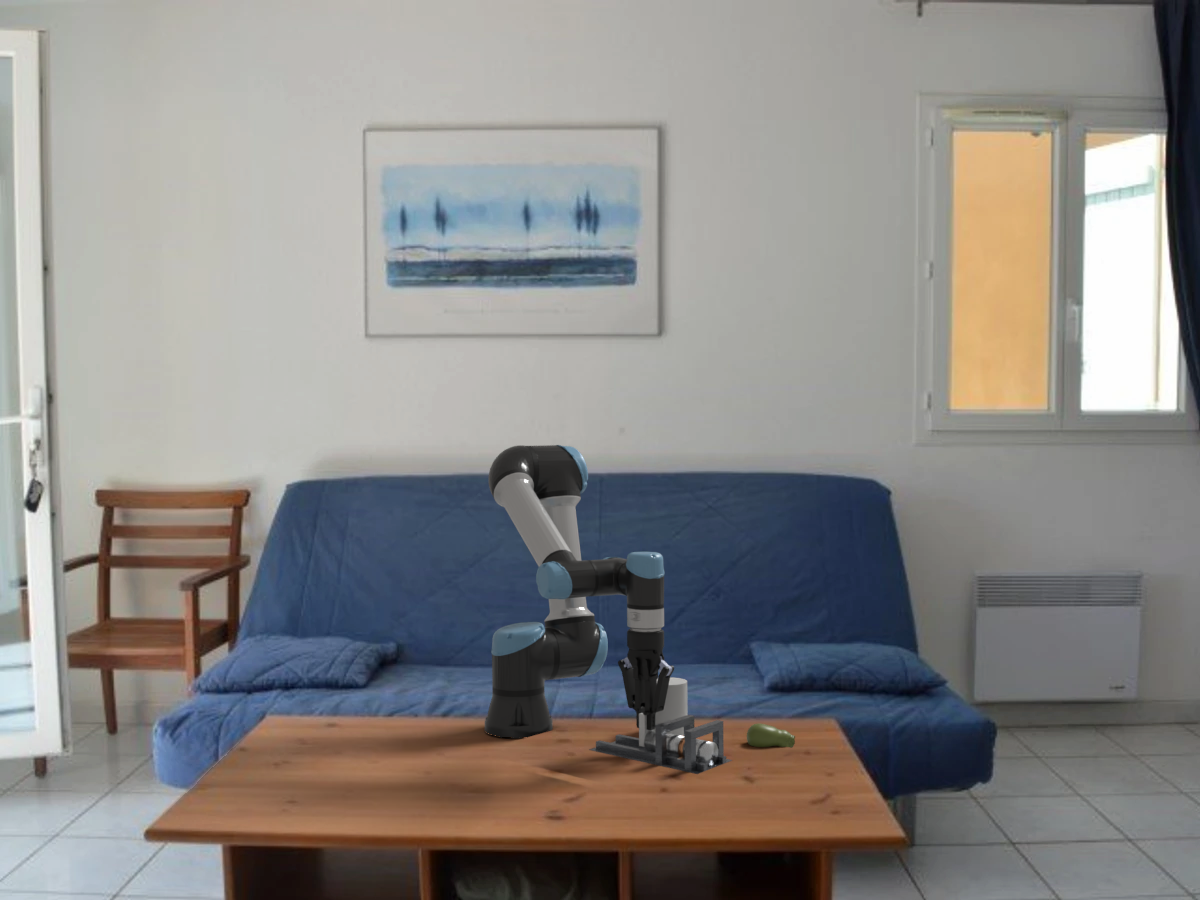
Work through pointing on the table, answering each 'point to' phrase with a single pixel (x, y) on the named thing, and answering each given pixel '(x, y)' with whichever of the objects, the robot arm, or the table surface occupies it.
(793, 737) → the pear
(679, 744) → the tube
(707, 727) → the collar rail
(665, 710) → the white cylinder
